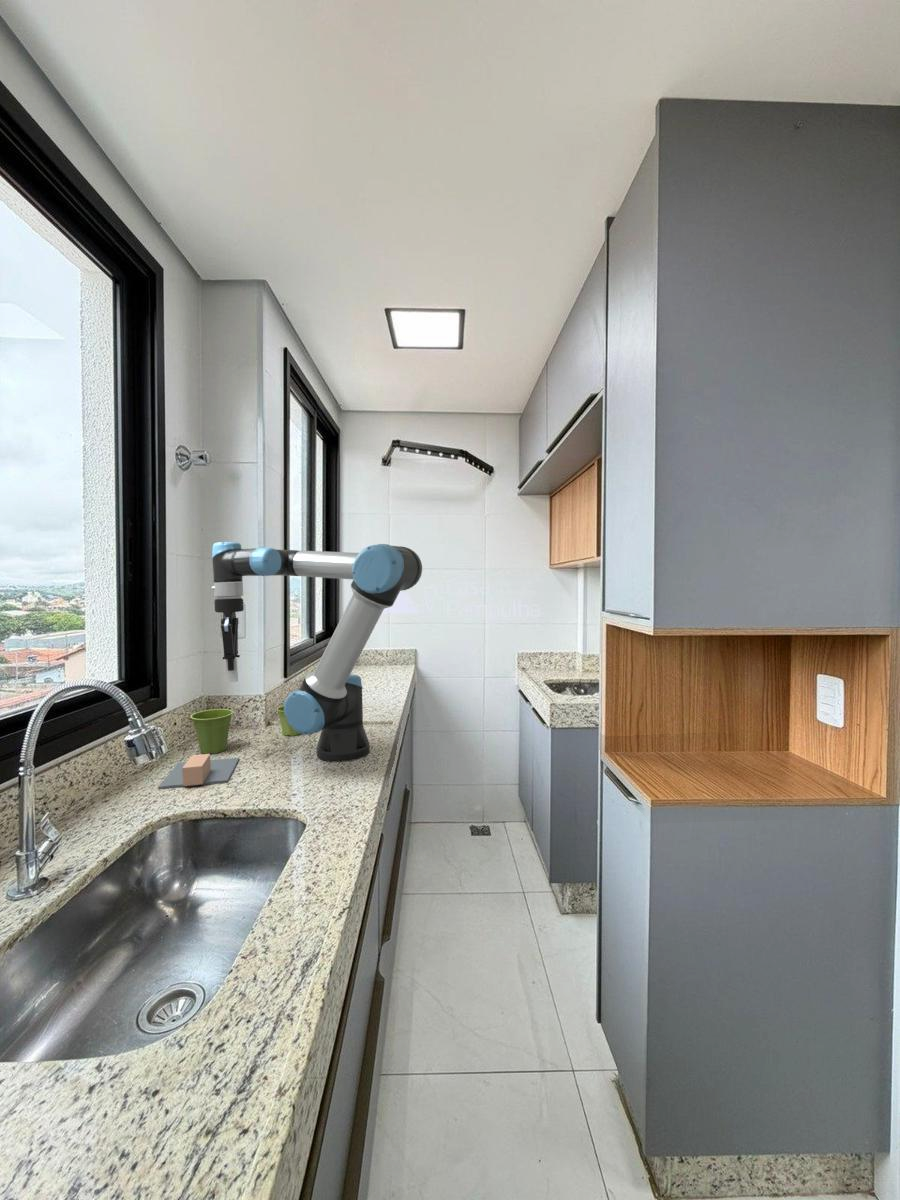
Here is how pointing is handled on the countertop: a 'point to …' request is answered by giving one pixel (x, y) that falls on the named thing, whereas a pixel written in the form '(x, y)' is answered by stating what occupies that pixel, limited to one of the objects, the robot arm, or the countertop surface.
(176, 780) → the mat
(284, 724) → the plant pot
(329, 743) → the robot arm
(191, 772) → the block
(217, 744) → the plant pot
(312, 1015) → the countertop surface
